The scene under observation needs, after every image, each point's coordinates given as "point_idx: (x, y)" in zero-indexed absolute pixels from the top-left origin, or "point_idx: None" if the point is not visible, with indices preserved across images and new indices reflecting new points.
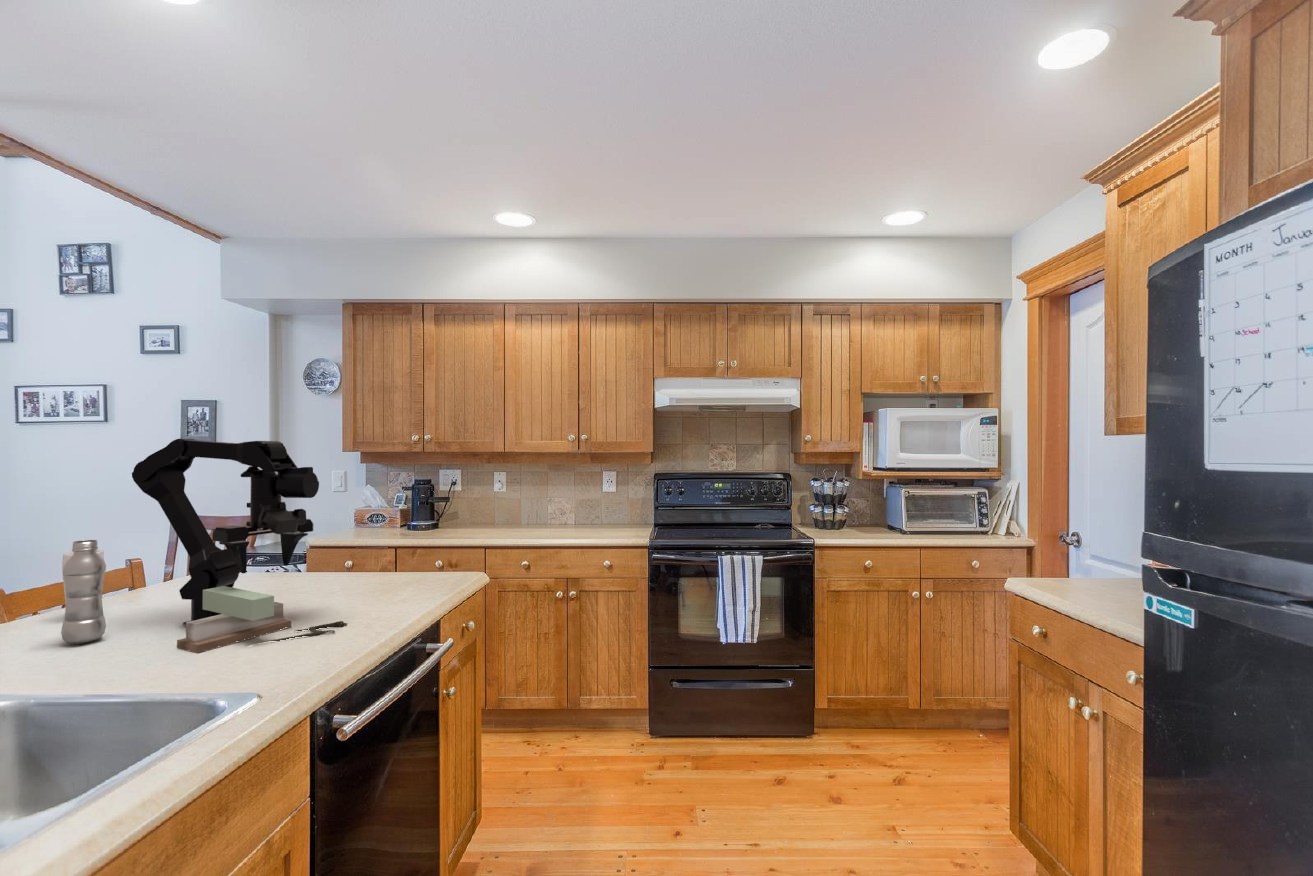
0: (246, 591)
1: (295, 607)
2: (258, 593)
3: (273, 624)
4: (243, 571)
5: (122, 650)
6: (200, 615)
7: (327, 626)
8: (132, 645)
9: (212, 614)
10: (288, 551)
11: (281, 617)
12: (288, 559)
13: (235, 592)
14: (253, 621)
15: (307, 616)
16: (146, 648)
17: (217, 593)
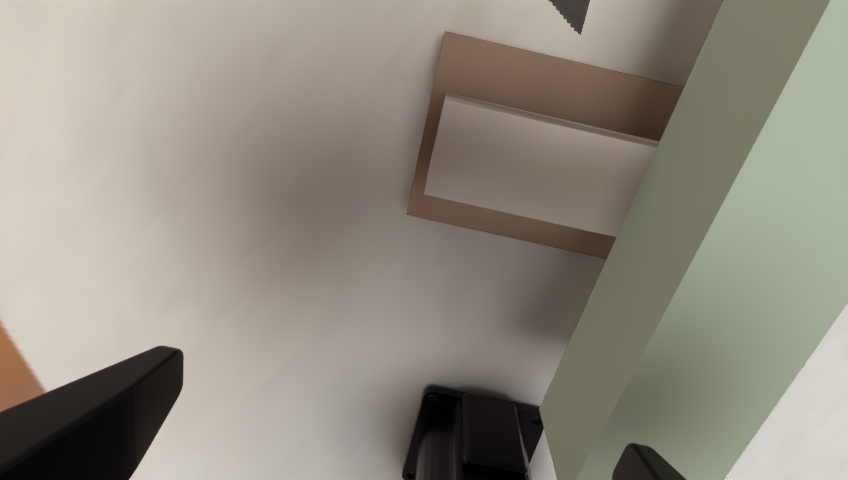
0: (734, 228)
1: (166, 301)
2: (829, 43)
3: (541, 64)
4: (662, 461)
5: (811, 440)
6: (527, 463)
7: None
8: (753, 455)
9: (514, 429)
10: (24, 477)
11: (456, 95)
12: (121, 381)
13: (773, 284)
14: (620, 134)
15: (256, 118)
16: (792, 388)
17: (780, 391)
